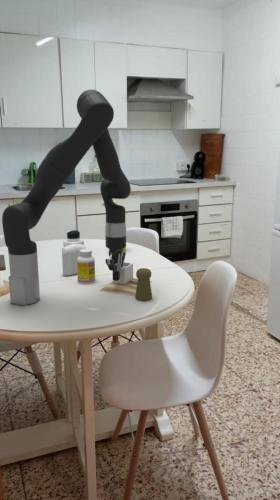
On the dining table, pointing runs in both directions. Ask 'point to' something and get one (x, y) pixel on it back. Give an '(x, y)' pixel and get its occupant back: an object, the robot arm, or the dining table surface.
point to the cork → (143, 285)
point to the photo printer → (71, 258)
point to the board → (122, 288)
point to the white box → (125, 273)
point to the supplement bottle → (86, 267)
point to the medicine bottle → (73, 238)
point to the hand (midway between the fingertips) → (116, 280)
